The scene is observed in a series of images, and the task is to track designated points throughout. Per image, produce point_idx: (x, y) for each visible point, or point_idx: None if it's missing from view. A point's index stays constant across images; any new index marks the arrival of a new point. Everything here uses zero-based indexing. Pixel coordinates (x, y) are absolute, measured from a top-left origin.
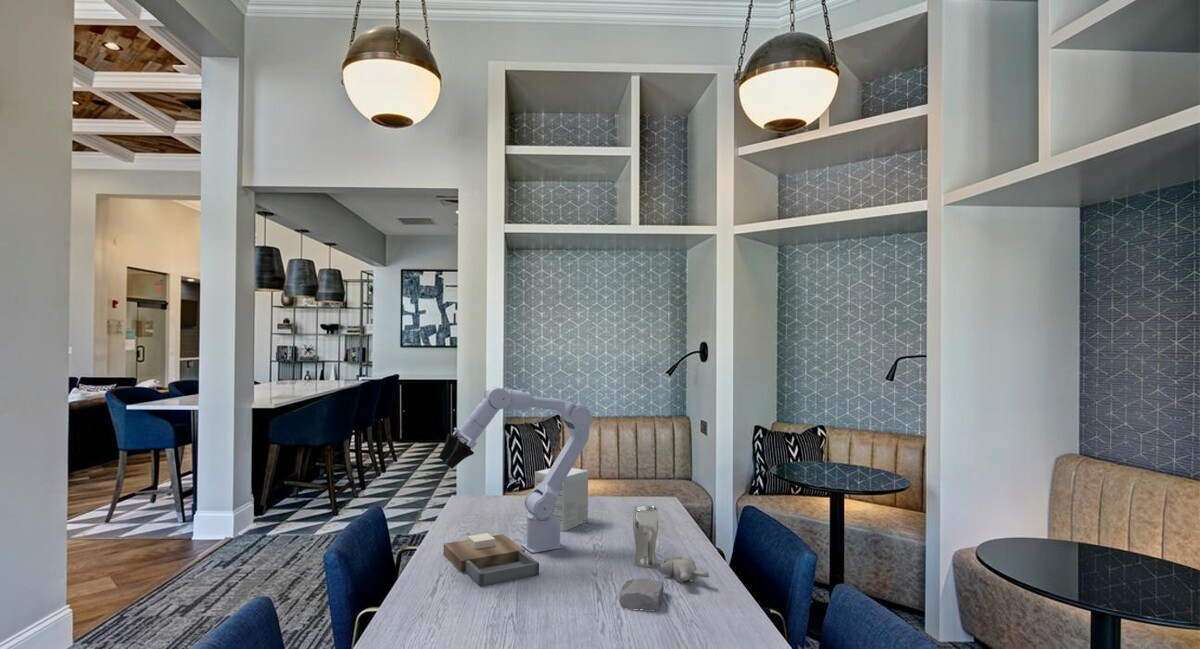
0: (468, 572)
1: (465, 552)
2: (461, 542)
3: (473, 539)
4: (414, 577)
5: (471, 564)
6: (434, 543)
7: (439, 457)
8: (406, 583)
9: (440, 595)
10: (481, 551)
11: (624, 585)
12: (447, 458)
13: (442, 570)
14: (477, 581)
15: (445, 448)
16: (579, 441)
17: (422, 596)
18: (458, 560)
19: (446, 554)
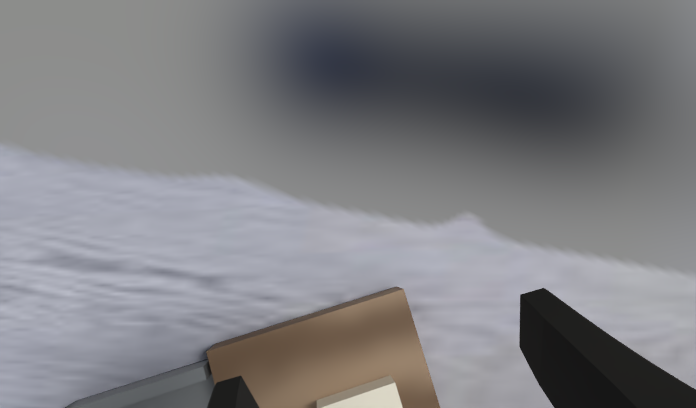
0: (179, 369)
1: (290, 366)
2: (403, 352)
3: (349, 404)
4: (210, 204)
5: (159, 386)
6: (511, 255)
7: (523, 299)
8: (168, 184)
9: (45, 282)
10: None
11: None
12: (546, 387)
13: (249, 285)
14: (93, 396)
15: (614, 400)
16: None
17: (54, 232)
18: (237, 340)
19: (365, 297)
